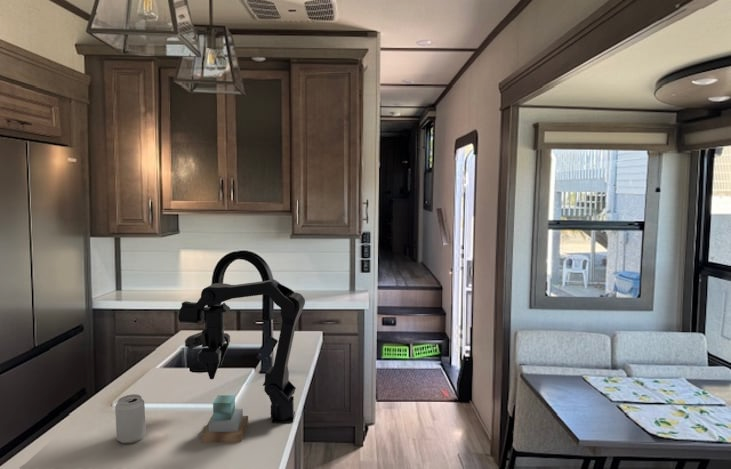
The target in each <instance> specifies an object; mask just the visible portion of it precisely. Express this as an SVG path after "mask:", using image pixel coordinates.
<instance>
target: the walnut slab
mask: <svg viewBox="0 0 731 469" xmlns="http://www.w3.org/2000/svg"><path fill="white" fill-rule="evenodd" d="M210 419H211V417H210ZM210 419H209V420H208V422H207V423H206V426H205V428H204V429H203V431H202V433H201V443H202V444H203V443H204V444H205V443H207V444H209V443H238V442H239V443H240V442H241V443H242V442H243V439H244V436H245V432H246V430H247V428H248V424H249V415H243V419H242V422H241V424H240V427H239V429H238V432H209V421H210Z"/></svg>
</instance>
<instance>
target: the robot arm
mask: <svg viewBox="0 0 731 469" xmlns="http://www.w3.org/2000/svg"><path fill="white" fill-rule="evenodd" d="M264 295H267V296H268V297H269V298H270V299H271V300H272V301H273V303H274V304H275V305H276V306H277V307H279V308H280V319H281V328H280V331H279V337H278V340H277V341H278V343H277V346H276V353H275V358H274V362H273V365H271V366H270V367H269V368H268V370H267V371H266V372H265V374H264V382H263V384H262V386H263V388H264V390H263V391H264V392H265V394H266V395H267V397H268V398H269V400H270V419H271V423H273V424H275V423H276V424H279V423H281V424H282V423H294V420H295V414H296V412H295V401H294V400H295V399H294V398H295V396H294V394H295V392H296V389H297V388H296V386H295V385H294V384H293V383H292V382H291V381H290V380H289V377H290V376H289V374H290V372H289V367H288V366H289V365H288V364H289V360H290V355H291V350H292V346H293V340H294V335H295V331H296V325H297V323H298V321H299V318H300V316H301V314H302V312H303V309H304V308H305V305H306V304H305V303H306V299H305V297H304V296H303V295H302V294H301V293H299V292H295V291H293V289H291V287H287V286H286V285H284V284H282V283H280V282H279V281H278V280H276V279H269V280H264V281H262V280H261V281H256V282H255V281H254V282H247V283H240V284H229V283H218V282H215V283H213V284H210V285H208V286H206V287H204V288H203V289H202V290H201V293H200V297H199V299H198V300H197V301H195V302H194V301H189V300H188V301H186V300H185V301H183V302H182V303H181V307H180V308H179V312H178V314H177V315H178V317H177V318H178V321H179V323H180V324H186V325H187V324H188V325H201V323H202V322H204V324H203V325H204V328H203V329H202V331H200V332H198V333H194V334H192V335H189V336H188V337H187V338H186V339H185V340H184V347H185V348H187V349H188V351H190V350H193V349H194V348H197V347H200V346H201V347H202V349H201V350H200V351H199V352H198V354H196V357H197V359H196V360H197V362H199V363H200V364H202V365H204V366H205V369H206V372H207V375H208V378H209V380H214V379H215V377H216V374H217V372H218V369H220V368H221V366H222V364H223V361H224V357H225V355H226V353H227V351H228V348H229V345H230V342H231V336H230V334H228V333H227V332H224V331H225V330H226V325H224V323H225V321H224V317H225V316H224V313H227V312H228V311H229V310H231V307H230V306H229V305H227V303H226V302H227V301H229V300H233V299H239V298H240V299H242V298H245V297H246V298H248V297H255V296H256V297H257V296H264ZM219 304H220V305H219Z"/></svg>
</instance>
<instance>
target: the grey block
mask: <svg viewBox="0 0 731 469" xmlns="http://www.w3.org/2000/svg"><path fill="white" fill-rule="evenodd" d="M243 416H244V408H235V413H234V415H233V417H232V419H231V420H213V414H212V415H211V416H210V418H211V419H209V420H210V421H209V420H208V422H209V432H238V429H239V427H240V424H241V422H242V419H243Z"/></svg>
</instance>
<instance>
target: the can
mask: <svg viewBox="0 0 731 469" xmlns="http://www.w3.org/2000/svg"><path fill="white" fill-rule="evenodd" d="M116 402H117V403H116V404H115V406H114V409H115V410H114V412H115V425H116V426H115V427H116V440H117V441H119V442H120V443H121V444H125V445H128V444H134V443H137V442H140V441H141V440H142V439H143V438H144V437H145V436H146V433H147V430H146V428H147V427H146V409H145V406H146V405H145V400H144V399H143V398H142V395H140V394H138V393H137V394H136V393H135V394H133V393H132V394H126V395H124V396H120V398H118V399H117V401H116Z"/></svg>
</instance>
